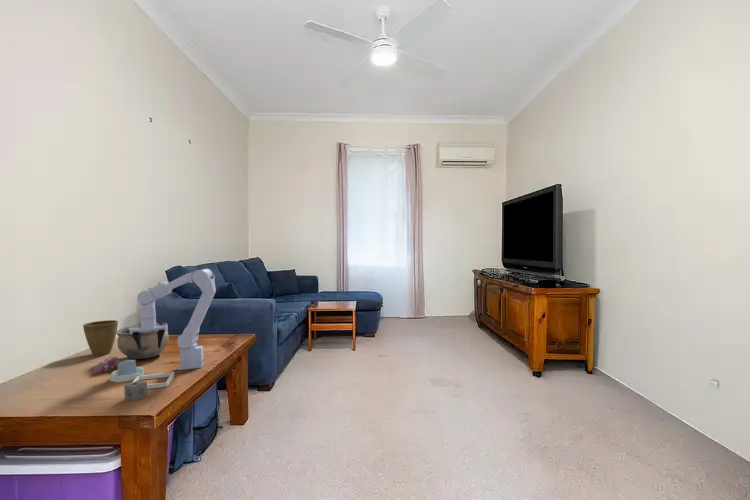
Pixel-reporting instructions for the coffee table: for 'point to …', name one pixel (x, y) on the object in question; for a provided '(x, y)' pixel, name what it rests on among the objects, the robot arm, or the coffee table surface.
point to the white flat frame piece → (157, 385)
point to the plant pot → (100, 336)
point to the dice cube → (135, 390)
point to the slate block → (126, 367)
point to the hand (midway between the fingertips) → (149, 348)
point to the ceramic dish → (123, 378)
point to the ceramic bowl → (147, 340)
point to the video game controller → (106, 365)
